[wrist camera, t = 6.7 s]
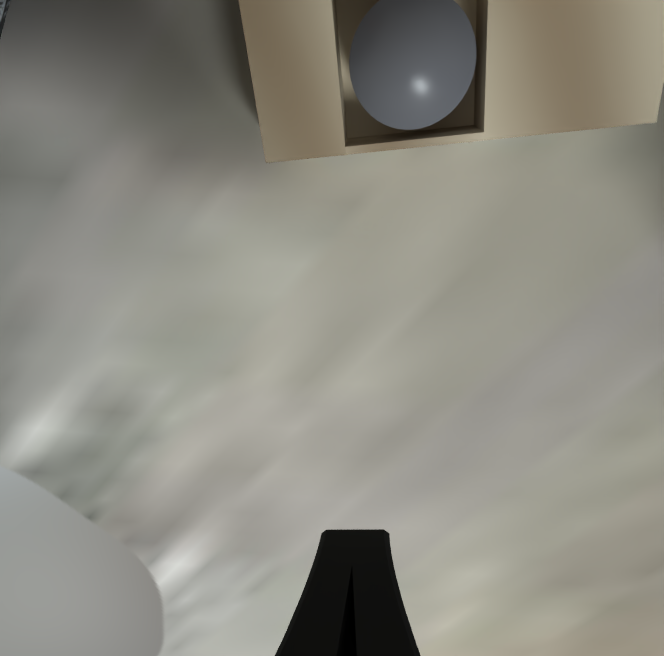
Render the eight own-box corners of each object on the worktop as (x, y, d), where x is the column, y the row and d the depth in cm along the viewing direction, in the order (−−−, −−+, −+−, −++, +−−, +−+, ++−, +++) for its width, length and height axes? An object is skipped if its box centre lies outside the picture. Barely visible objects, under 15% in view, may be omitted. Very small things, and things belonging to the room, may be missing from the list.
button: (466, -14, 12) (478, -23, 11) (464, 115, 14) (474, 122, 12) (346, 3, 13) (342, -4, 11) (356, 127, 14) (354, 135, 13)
